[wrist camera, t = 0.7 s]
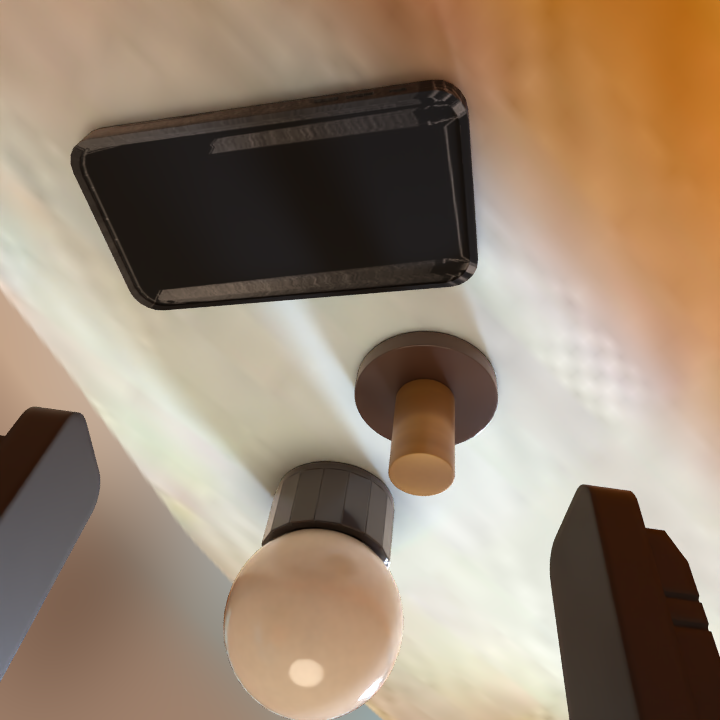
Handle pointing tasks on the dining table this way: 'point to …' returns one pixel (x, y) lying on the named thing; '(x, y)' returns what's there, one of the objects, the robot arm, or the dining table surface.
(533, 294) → the dining table surface
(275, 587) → the ball
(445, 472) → the knob on round base
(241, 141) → the phone
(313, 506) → the stand
